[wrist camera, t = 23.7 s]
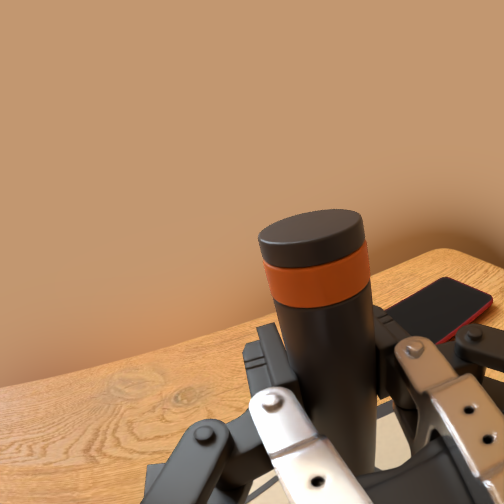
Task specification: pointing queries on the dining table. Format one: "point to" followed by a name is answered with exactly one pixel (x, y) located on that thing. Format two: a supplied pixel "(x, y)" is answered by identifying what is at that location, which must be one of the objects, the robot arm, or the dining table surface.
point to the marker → (328, 324)
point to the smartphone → (440, 309)
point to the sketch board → (386, 457)
